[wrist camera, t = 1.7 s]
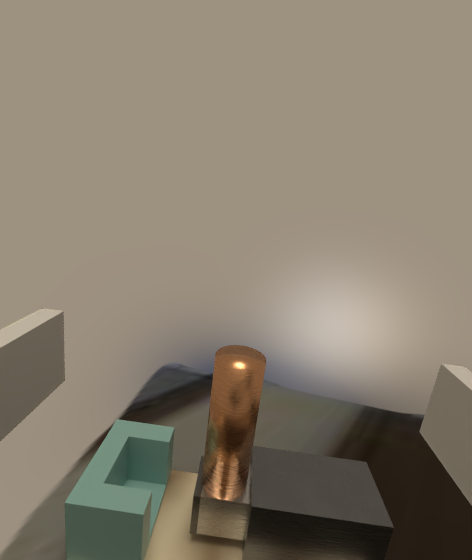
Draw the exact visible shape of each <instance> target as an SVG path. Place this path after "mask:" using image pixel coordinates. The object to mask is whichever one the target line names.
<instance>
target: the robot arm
mask: <svg viewBox="0 0 472 560" xmlns="http://www.w3.org/2000/svg"><path fill="white" fill-rule="evenodd" d="M63 321H64V316H63V311H58V310H50V309H43V308H42V309H40V310H38V311H36V312H34V313H32V314H30V315H28V316H26V317H24V318H22V319H20V320H18V321H16V322H14V323H12V324H10V325H8V326H6V327H4V328H2V329H0V441H1V440H2V439H3V438H4V437H5V436H6V435H7V434H8V433H10V431H12V430H13V429H14V428H15V427H16V426H17V425H18V424H19V423H20V422H21V421H22V420H23V419H24V418H25V417H26V416H28V415H29V414H30V413H31V412H32V411H33V410H34V409H35V408H36V407H37V406H38V405H39V404H40V403H41V402H42V401H43V400H44V399H46V398H47V397H48V396H49V395H50V394H51V393H52V392H53V391H54V390H55V389H56V388H57V387H58V386H59V385H60V384H62V382H64V381H65V372H64V371H65V368H64V322H63ZM420 433H421V435H422V436H423V437H424V439H425V440H426V442H427V443H428V445H429V446H430V447H431V449H432V450H433V452H434V453H435V454H436V456H437V457H438V459H439V460H440V462H441V463H442V464H443V466H444V467H445V469H446V470H447V471H448V473H449V474H450V476H451V477H452V478H453V480H454V481H455V483H456V484H457V486H458V487H459V488H460V490H461V491H462V493H463V494H464V495H465V497H466V498H467V500H468V501H469V503H470V504H471V505H472V373H471V372H470V371H469V370H468V369H466V368H465V367H462V366H455V365H448V364H441V367H440V369H439V373H438V376H437V379H436V382H435V385H434V388H433V391H432V394H431V398H430V401H429V404H428V407H427V410H426V413H425V416H424V420H423V423H422V426H421V429H420Z"/></svg>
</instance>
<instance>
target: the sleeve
mask: <svg viewBox="0 0 472 560" xmlns="http://www.w3.org/2000/svg"><path fill="white" fill-rule="evenodd" d="M250 464H251V500H250V510H249V516H248V522H247V529H246V535H245V541H243V547H242V560H384V557H385V554H386V551H387V547H388V544H389V541H390V538H391V535H392V532H393V529H394V527H393V524H392V522H391V520H390V517H389V515H388V513H387V510H386V508H385V505H384V503H383V501H382V498H381V496H380V494H379V491H378V489H377V486H376V484H375V482H374V479H373V477H372V475H371V472H370V470H369V467H368V465H367V463H366V462H361V461H354V460H347V459H340V458H333V457H327V456H320V455H313V454H306V453H299V452H292V451H285V450H278V449H271V448H264V447H257V446H253V448H252V455H251V461H250Z"/></svg>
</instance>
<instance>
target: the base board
mask: <svg viewBox="0 0 472 560" xmlns="http://www.w3.org/2000/svg"><path fill="white" fill-rule="evenodd" d="M197 476H198V474H196V473H189V472H183V471H176V470H171V474H170V478H169V481H168V484H167V487H166V491H165V494H164V497H163V500H162V503H161V507H160V510H159V513H158V516H157V520H156V523H155V526H154V529H153V533H152V536H151V539H150V542H149V546H148V549H147V552H146V555H145V558H144V560H242V547H243V540H237V539H230V538H224V537H217V536H210V535H204V534H190V524H191V514H192V504H193V495H194V490H195V486H196V481H197Z"/></svg>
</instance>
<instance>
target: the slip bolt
mask: <svg viewBox="0 0 472 560" xmlns="http://www.w3.org/2000/svg"><path fill="white" fill-rule="evenodd" d="M265 365H266V358H265V357H264V355H263V354H262V353H260V352H259V351H257V350H255V349H253V348H250V347H246V346H239V345H238V346H237V345H231V346H226V347H223V348H220V349H219V350H218V351H217V352H216V356H215V364H214V374H213V383H212V392H211V401H210V410H209V419H208V428H207V437H206V446H205V455H204V457H203V456H202V457H201V462H200V467H199V471H198V476H197V481H196V486H195V490H194V495H193V504H192V514H191V524H190V534H204V535H210V536H217V537H224V538H230V539H237V540H243V541H245V535H246V529H247V522H248V516H249V510H250V500H251V464H250V461H251V455H252V448H253V442H254V436H255V429H256V423H257V416H258V410H259V404H260V397H261V391H262V385H263V378H264V372H265Z"/></svg>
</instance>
